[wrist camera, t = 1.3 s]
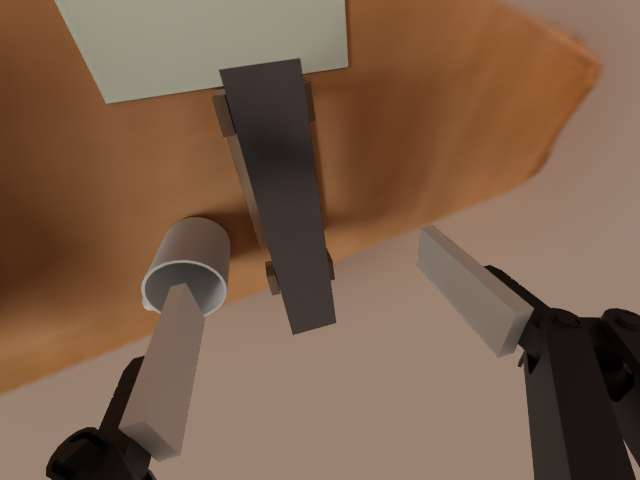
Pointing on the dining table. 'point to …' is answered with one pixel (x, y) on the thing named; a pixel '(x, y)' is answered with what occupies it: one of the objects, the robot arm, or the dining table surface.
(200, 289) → the cup
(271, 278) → the stand
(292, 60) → the rail
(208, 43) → the mat
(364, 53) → the dining table surface
